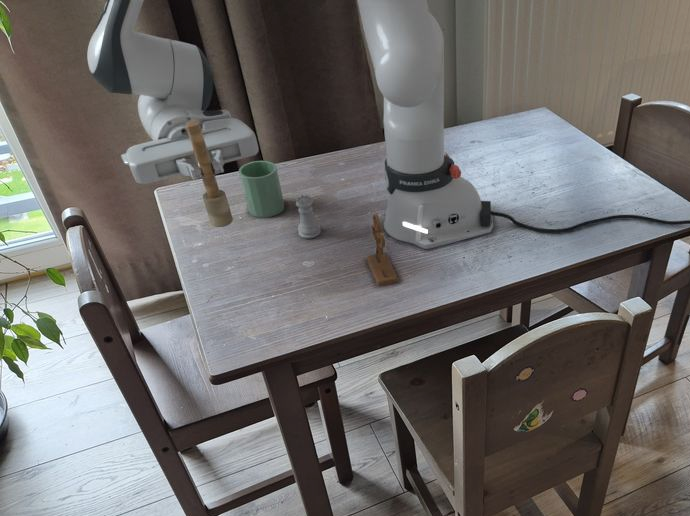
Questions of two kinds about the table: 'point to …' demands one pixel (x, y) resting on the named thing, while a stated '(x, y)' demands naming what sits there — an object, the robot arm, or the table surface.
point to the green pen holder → (262, 188)
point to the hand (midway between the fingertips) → (208, 171)
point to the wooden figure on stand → (380, 258)
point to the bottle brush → (209, 179)
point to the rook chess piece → (307, 218)
